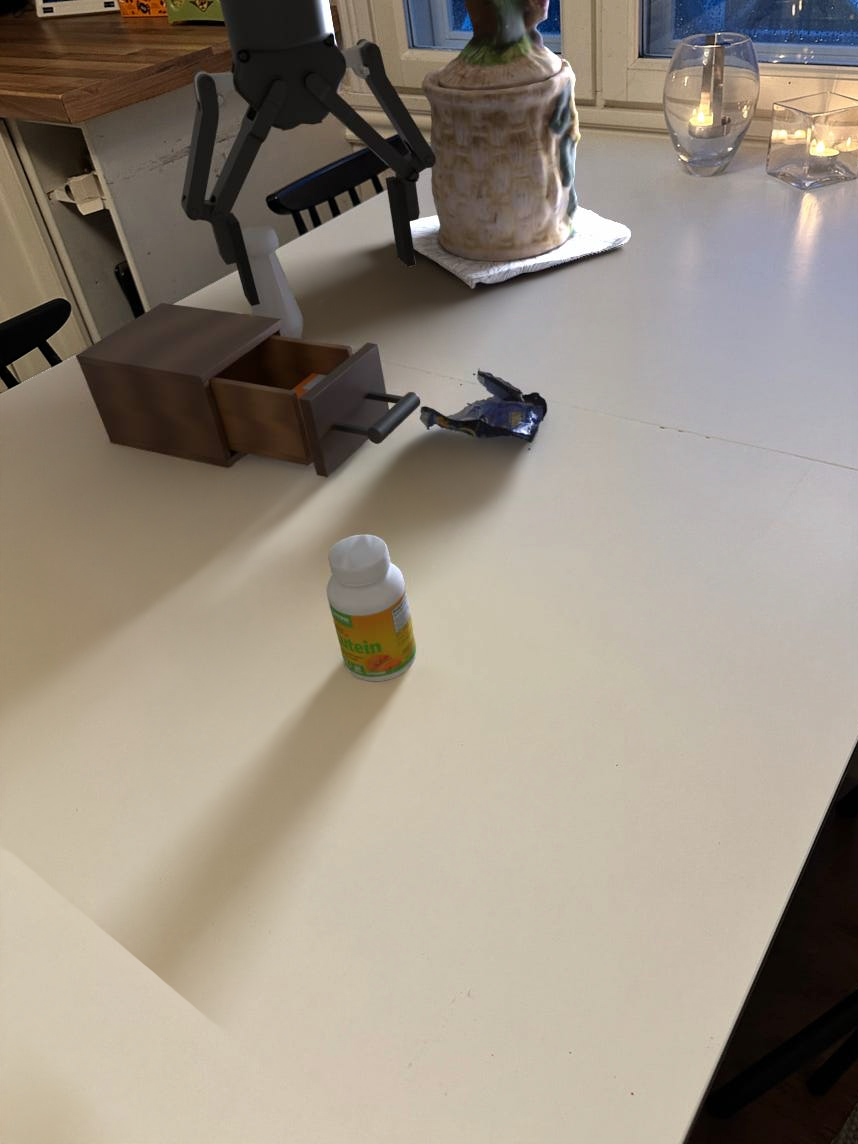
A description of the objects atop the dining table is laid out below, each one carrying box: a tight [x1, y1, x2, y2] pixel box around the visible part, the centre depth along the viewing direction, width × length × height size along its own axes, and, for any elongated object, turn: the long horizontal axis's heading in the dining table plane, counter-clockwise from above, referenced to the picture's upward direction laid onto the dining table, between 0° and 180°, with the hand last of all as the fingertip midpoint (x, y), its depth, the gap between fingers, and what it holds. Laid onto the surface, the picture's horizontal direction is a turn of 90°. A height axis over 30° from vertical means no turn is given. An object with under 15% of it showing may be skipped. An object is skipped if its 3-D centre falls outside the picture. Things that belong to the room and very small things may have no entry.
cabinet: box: [75, 302, 286, 469], centre depth 96 cm, size 16×13×10 cm
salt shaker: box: [241, 225, 304, 339], centre depth 109 cm, size 6×6×13 cm
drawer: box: [208, 335, 421, 478], centre depth 91 cm, size 20×11×8 cm, turn 63°
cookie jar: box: [410, 0, 631, 289], centre depth 120 cm, size 25×25×32 cm
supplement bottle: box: [326, 534, 418, 682], centre depth 67 cm, size 5×5×10 cm
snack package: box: [419, 369, 548, 451], centre depth 92 cm, size 12×6×12 cm
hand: (330, 280), depth 81 cm, fingers open, 13 cm apart
